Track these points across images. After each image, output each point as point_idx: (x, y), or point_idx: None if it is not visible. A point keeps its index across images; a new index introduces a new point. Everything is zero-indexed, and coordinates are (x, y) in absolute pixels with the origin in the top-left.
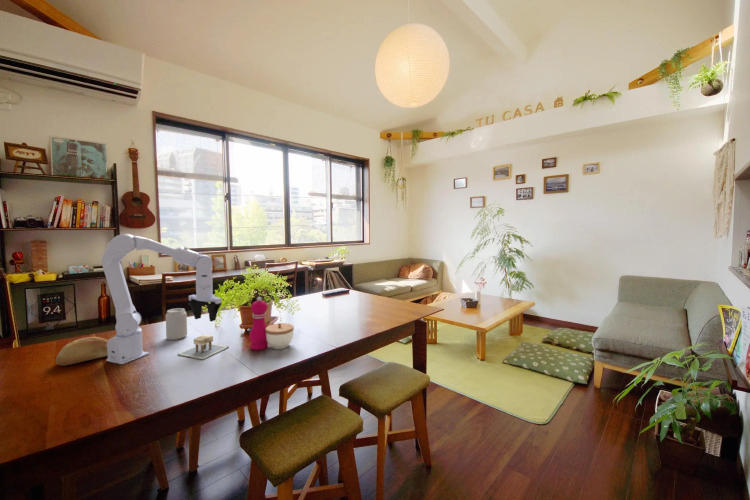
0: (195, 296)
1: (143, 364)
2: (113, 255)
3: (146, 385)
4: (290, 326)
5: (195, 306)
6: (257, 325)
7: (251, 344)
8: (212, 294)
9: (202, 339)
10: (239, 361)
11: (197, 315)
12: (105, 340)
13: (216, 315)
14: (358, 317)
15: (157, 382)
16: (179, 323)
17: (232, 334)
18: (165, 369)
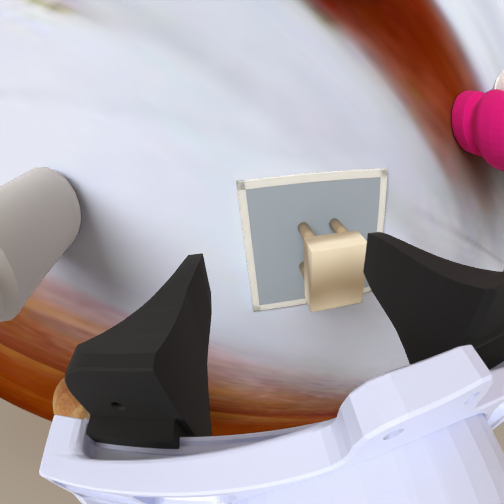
0: (162, 501)
1: (228, 373)
2: None
3: (341, 393)
4: None
5: (202, 394)
6: None
7: (473, 151)
8: (498, 448)
9: (355, 295)
10: (467, 240)
11: (205, 302)
12: (82, 414)
13: (407, 245)
14: None
15: (352, 382)
16: (45, 257)
17: (253, 15)
18: (316, 360)
